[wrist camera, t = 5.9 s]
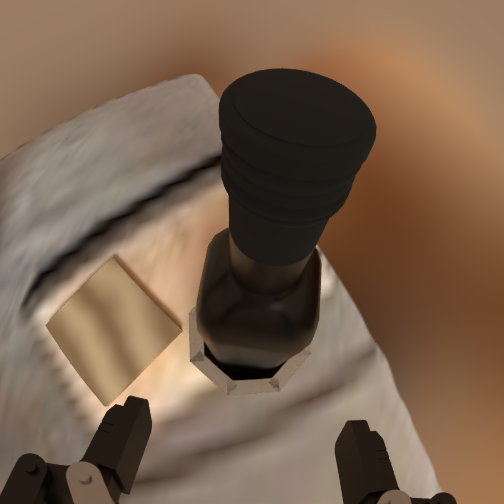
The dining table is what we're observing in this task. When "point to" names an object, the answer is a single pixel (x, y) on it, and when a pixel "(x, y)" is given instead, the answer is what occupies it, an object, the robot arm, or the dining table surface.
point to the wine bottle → (277, 212)
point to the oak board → (111, 331)
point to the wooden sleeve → (272, 383)
